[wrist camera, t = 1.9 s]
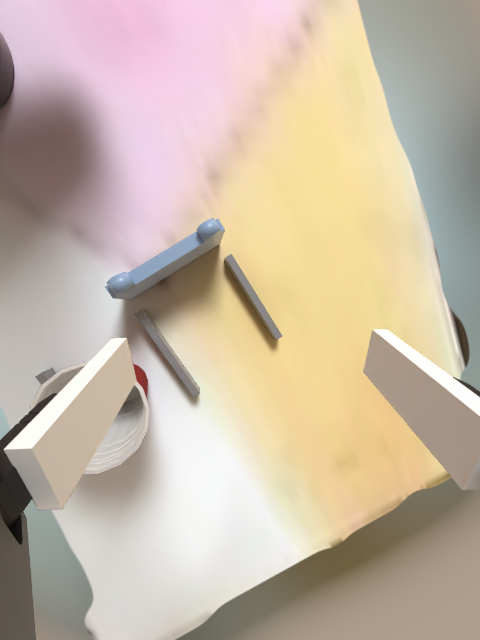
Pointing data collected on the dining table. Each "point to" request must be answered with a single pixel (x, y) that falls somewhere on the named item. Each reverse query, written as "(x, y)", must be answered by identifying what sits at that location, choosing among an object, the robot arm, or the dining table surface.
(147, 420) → the plastic cup
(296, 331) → the dining table surface
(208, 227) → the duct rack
